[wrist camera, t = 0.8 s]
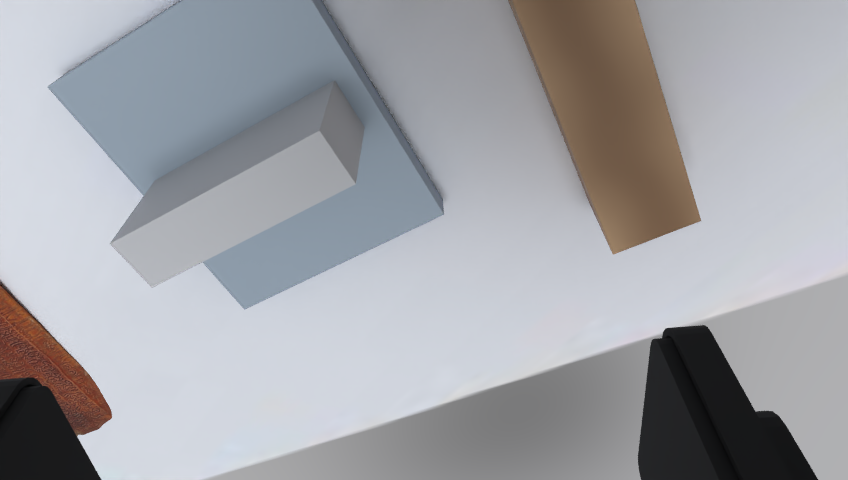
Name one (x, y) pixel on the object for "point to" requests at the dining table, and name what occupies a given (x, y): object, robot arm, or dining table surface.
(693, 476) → the robot arm
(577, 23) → the walnut batten
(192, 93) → the ridge stand
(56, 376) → the wooden tablet
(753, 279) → the dining table surface
